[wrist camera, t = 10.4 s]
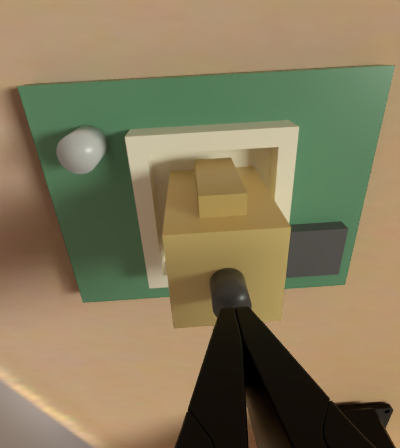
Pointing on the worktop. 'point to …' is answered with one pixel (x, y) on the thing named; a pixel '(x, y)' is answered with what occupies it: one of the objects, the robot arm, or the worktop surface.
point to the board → (205, 149)
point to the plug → (223, 244)
